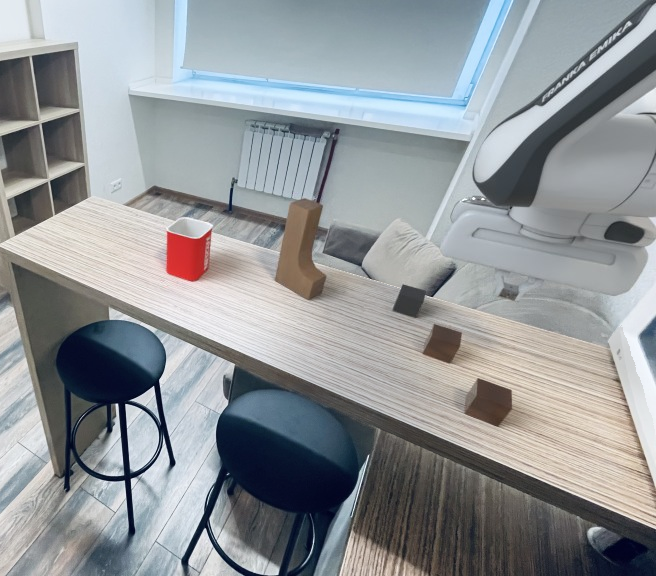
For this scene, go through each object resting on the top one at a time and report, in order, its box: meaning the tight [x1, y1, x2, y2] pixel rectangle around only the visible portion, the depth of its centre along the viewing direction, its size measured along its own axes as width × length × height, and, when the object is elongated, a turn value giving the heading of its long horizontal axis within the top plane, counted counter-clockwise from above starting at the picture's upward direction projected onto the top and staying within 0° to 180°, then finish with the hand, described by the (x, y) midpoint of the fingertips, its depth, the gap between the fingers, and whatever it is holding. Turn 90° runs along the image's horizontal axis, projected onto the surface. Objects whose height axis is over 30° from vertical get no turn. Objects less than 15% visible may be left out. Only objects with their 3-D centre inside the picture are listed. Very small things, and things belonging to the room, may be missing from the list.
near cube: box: [464, 377, 513, 427], centre depth 58 cm, size 4×4×4 cm
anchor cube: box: [392, 284, 427, 319], centre depth 78 cm, size 4×4×4 cm
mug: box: [165, 216, 214, 282], centre depth 90 cm, size 12×8×11 cm
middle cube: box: [422, 323, 463, 365], centre depth 68 cm, size 4×4×4 cm
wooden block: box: [274, 197, 328, 301], centre depth 81 cm, size 9×4×18 cm, turn 34°
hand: (505, 297), depth 60 cm, fingers closed
